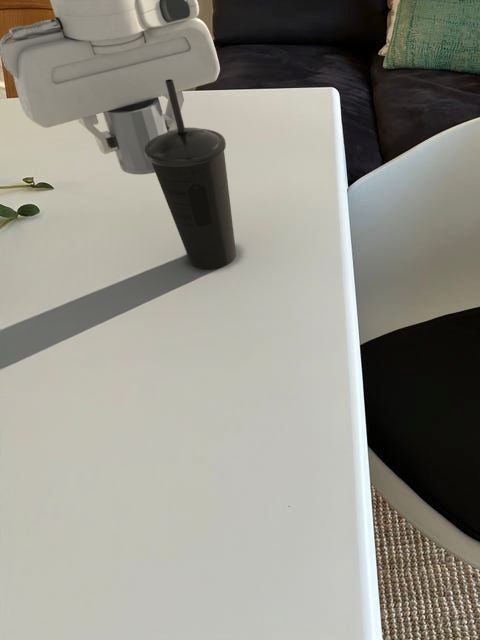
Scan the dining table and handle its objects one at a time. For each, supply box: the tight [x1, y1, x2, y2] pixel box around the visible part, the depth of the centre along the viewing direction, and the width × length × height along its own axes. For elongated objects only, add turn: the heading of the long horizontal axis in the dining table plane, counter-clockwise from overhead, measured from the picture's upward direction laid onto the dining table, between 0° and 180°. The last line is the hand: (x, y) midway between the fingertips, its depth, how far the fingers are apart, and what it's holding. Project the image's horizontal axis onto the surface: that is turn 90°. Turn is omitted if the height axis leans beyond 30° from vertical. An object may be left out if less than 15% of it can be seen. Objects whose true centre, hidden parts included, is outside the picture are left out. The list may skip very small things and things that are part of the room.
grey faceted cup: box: [102, 97, 168, 176], centre depth 85 cm, size 6×6×7 cm
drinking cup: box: [145, 79, 237, 271], centre depth 79 cm, size 8×8×20 cm
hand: (141, 140), depth 86 cm, fingers closed on grey faceted cup, 6 cm apart
